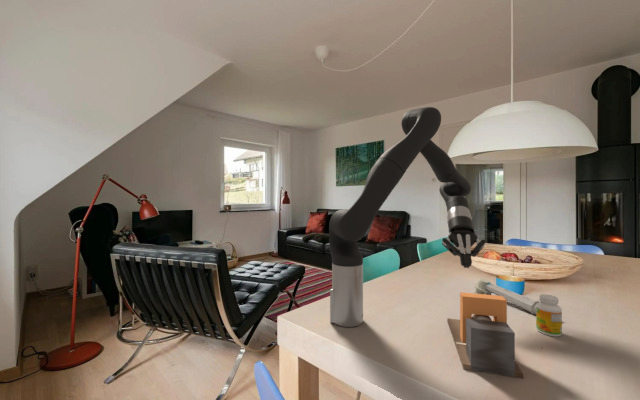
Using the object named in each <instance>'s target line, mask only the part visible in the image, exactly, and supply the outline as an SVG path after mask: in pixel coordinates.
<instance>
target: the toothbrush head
mask: <svg viewBox="0 0 640 400" xmlns="http://www.w3.org/2000/svg"><path fill="white" fill-rule="evenodd" d="M474 289H475V291H474V292H475V293H474V294H485V295H496V296H503V297H504V298H505V299H506V300H507V302H509V303H511V304H513V305H516V306H518V307H519V308H521V309H524V310H525V311H528V312H530V313H531V315H535V316H536V305H537V303H539V302H540V300H534V299H531V298H529V297H528V296H527V297H526V296H524V295H521V294H519V293H517V292H515V291H512V290H509V289H507V288H504V287H502V286H499V285H498V284H497V285H496V284H495V283H494V284H493V283H491V281H490V280H488V279H486V278H483V277H481V278H479V279H478V282H477V284H474Z"/></svg>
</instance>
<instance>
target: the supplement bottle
mask: <svg viewBox="0 0 640 400" xmlns="http://www.w3.org/2000/svg"><path fill="white" fill-rule="evenodd" d="M535 317H536V318H535V319H536V321H535V322H536V323H535V325H536V327H535V328H536V330H537V331H538V332H539V333H541V334H543V335H545V336H549V337H555V338H556V337H561V336H562V334H563V318H562V317H563V310H562V307H561V306H560V305H559V297H557V296H555V295H552V294H543V293H542V294H539V303H537V305H536V315H535Z"/></svg>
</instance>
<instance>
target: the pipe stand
mask: <svg viewBox="0 0 640 400" xmlns="http://www.w3.org/2000/svg"><path fill="white" fill-rule="evenodd" d="M447 324H448V327H449V330H450V333H451V336H452V339H453V342H454V346H455V349H456V351H457V354H458V355H457V356H458V357H459V361H460V364H461V367H462V369H463V370H469V371H476V372H480V373H481V372H482V373H488V374H493V375H499V376H506V377H512V378H518V379H524V372H523V371H522V369H521V368H520V366H519V365H518V364H517V361H516V357H515V356H516V355H515V354H516V353H515V352H516V351H515V349H516V344H515V343H516V342H515V339H516V334H515V331H514V330H513V329H512V328H511V327H510V326H509V324H508V322H507V323H505V322H496V321H493V319H492V318H491V316H486V315H477V314H472V319H469V318H466V343H462V340H461V338H460V319H458V318H457V319H456V318H447Z"/></svg>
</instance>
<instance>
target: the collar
mask: <svg viewBox="0 0 640 400" xmlns="http://www.w3.org/2000/svg"><path fill="white" fill-rule="evenodd" d="M459 294H460V295H459V307H460V308H459V314H460V315H459V318H460V319H459V320H460V338H461V340H462V343H466V318H469V319H472V314H477V315H486V316H489V317H493V318H492V321H496V322H505V323H507V324H508V322H507V321H508V320H507V319H508V307H507V305H508V301H507V300H506V299H505V298H504V297H503V296H497V295H495V294H491V295H485V294H477V293H471V292H462V291H461V292H460V293H459Z"/></svg>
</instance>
